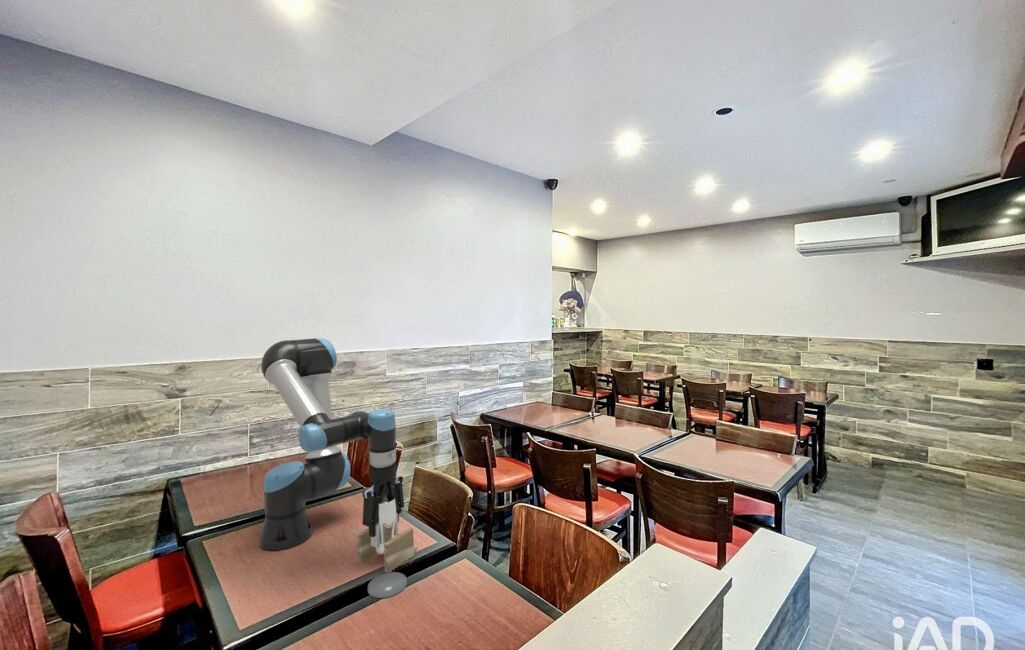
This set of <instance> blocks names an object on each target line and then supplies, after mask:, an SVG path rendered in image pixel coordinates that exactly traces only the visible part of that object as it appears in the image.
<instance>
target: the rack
mask: <svg viewBox="0 0 1025 650" xmlns="http://www.w3.org/2000/svg"><path fill="white" fill-rule="evenodd" d="M356 537H357V538H356V539H357V540H356V541H357V561H358V562H359V563H363V562H365V561H366V560H368V559H370V558H371V557H373V556H375V555H376V554H377V553H376V552H375V551H374V546H371V536H369V527H368V528H366V529H364V530H362V531H361V532H359V533H357V534H356ZM414 540H415V539H414V528H411V527H408V528H407V529H405V530H403V531H402V532H401V533H398V535H397V536H394V538H393V539H391V540H389V541H388V542H386V543H385V544H384V554H383V556H384V573H386V572H387V573H389V572H393V571H394V570H396V569H397V568H398V566H399V565H400V564H401V565H403V564H404V563H405V561H406V562H407V561H408V560H410V559H411V558H412V557H414V556H415V555H417V554H416V553H418V550H417V546H416V545H414V543H415V541H414ZM409 558H410V559H409ZM402 563H403V564H402ZM401 565H400V566H401ZM400 566H399V567H400ZM396 567H397V568H396ZM395 568H396V569H395ZM392 570H393V571H392Z"/></svg>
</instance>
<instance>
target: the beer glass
mask: <svg viewBox="0 0 1025 650" xmlns="http://www.w3.org/2000/svg"><path fill="white" fill-rule="evenodd" d="M377 497H379V496H377ZM372 521H373V520H372ZM395 522H396V501H395V496H394V499H393V500H392V501H390V502H388V499H387V496H386V495H385V496H384V498H383V501H382V502H381V503H379V513H378V520H377V524H379V544H380V547H378V548H376V547H374V551H375V552H376V554H379V555H384V544H385V543H386V542H388V541H389V540H391V539H393V538H394V537H395V535H394V529H395Z"/></svg>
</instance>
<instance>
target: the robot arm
mask: <svg viewBox="0 0 1025 650" xmlns="http://www.w3.org/2000/svg"><path fill="white" fill-rule="evenodd" d="M337 355H338V354H337V352H336V349H335V347H334V345H333V343H331V342H330V340H328V339H326V338H316V337H315V338H304V339H302V338H301V339H293V340H292V339H291V340H287V339H285V340H281V341H278V342H276V343H273V344H272V345H271V346H269V348H267V349H266V351H265V353H264V354H263V356H262V359H261V364H260V367H261V373H262V375H263V376H264V378H265V380H266V381H267V382H268V383H269V384H272V385H274V387H275V389H276V390H277V392H278V394H279V395H280V397H281V398H282V400H283V401H284V403H285V405H286V406H287V407H288V409H289V411H290V412H291V414H292V416H293V417H294V419H295V420H296V422H297V424H299V426H300V427H299V429H298V433H297V434H298V437H297V439H298V442H299V446H300V448H301V449H302V450H303V451H304V452H307V454H306V455H305V457H304V458H305V463H303V462H302V461H299V460H296V461H295V460H294V461H293V460H292V461H290V462H289V461H288V462H284V463H281V464H277V466H274V467H273V468H271V469H269V470H268V471H267V472H266V474H265V475H264V477H263V487H262V489H263V497H264V498H263V501H264V517H265V518H264V522H263V526H262V527H261V528H262V529H261V533H260V536H259V546H260V548H261V549H263V550H266V551H283V550H286V549H289V548H290V549H291V548H293V547H296V546H298V545H301V544H302V543H304V542H305V541H307V540H308V539H309V538H310V537H312V534H313V524H312V522H311V519H310V517H309V515H308V513H307V510H306V501H308V500H311V499H313V498H317V497H319V496H322V495H325V494H328V493H332V492H335V491H337V490H338V489H341V488H344V487H345V486H346V485H347V483H348V481H349V479H350V475H351V463H350V460H349V457H348V455H347V454H345V453H342V449H341V448H339V447H338V446H337V445H340V444H346V443H350V442H353V441H358V440H360V439H361V440H362V439H363V440H366V441H368V452H369V454H368V458H369V459H368V460H369V461H368V462H369V463H368V464H369V479H370V480H371V484H370V487H369V488H368V489H367V490H366V489H364V490H362V493H361V494H362V498H363V504H362V505H363V507H362V525H363V526H365V527H368V528H369V536H371V546H374V547H376V548H378V547H380V544H379V524H377V520H378V513H379V503H381V502H382V501H383V498H384V496H385V495H386V496H387V499H388V502H390V501H392V500H393V499H394V496H395V501H396V522H395V529H394V537H396V536H397V535H399V522H400V514H401V513H402V511H403V510H402V509H404V507H405V501H404V488H403V481H404V477H403V476H401V475H397V462H396V461H397V448H396V447H397V446H396V445H397V441H396V439H397V438H396V437H397V436H396V435H397V434H396V433H397V431H396V427H397V426H396V425H397V423H396V414H395V411H393V410H391V409H387V408H386V409H384V408H381V409H374V410H372V411H370V412H367V411H362V410H353V411H350V413H348V414H347V415H345V416H341V417H336V418H334V417H333V412H332V411H333V409H332V402H331V394H330V387H329V378H330V377H331V376H332V374H333V372H332V370H333V369H334V368H335V367H336V365H337V361H338V358H337ZM377 496H379V497H377ZM372 520H373V521H372Z"/></svg>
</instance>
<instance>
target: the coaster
mask: <svg viewBox="0 0 1025 650" xmlns="http://www.w3.org/2000/svg"><path fill="white" fill-rule="evenodd" d="M407 585H408V578H407V577H406V575H405V574H404V573H401V572H398V571H397V572H396V571H392V572H389V573H386V572H384V573H382V574H378V575H377V576H375V577H374V578H372V579H371V580H370V581H369V583H368V585H367V593H368V595H369V596H370V597H372V598H376V599H388V598H392V597H395V596H397V595H398V594H400V593H401V592H403V591H404V590H405V588H406V587H407Z"/></svg>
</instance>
